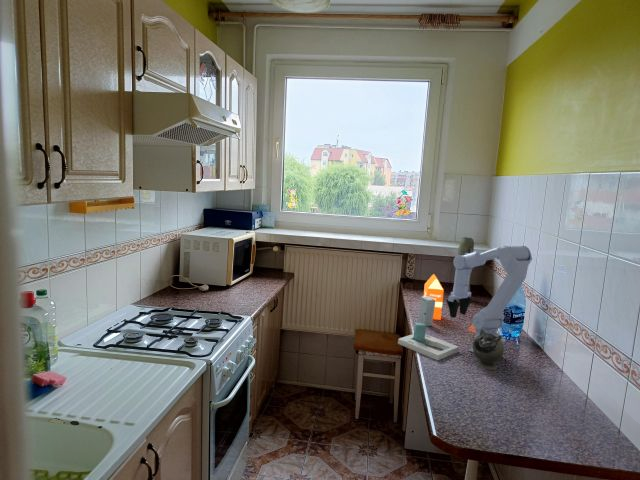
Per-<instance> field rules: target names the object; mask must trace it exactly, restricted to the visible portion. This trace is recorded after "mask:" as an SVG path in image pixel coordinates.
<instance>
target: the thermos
mask: <svg viewBox="0 0 640 480" xmlns="http://www.w3.org/2000/svg"><path fill="white" fill-rule="evenodd" d="M473 250H475V241H474V239H473V238H472V237H466V236H465V237H464V236H463V237H461V239H460V241H459V246H458V252H457V255H465V253H472V252H473ZM471 276H472V272H471V273H470V278H469V287H468V292H471V286H470V285H471ZM453 289H454V286H453V288H452V290H453ZM457 301H459V299H458V300H457Z"/></svg>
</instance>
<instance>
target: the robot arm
mask: <svg viewBox="0 0 640 480" xmlns="http://www.w3.org/2000/svg"><path fill="white" fill-rule="evenodd" d="M532 256H533V255H532V253H531V249H530V248H529V247H527V246H525V245H516V246H515V245H514V246H513V245H512V246H508V245H503V246H498V247H495V248H491V249H489V250H486V251H482V250H479V249H474V250H473V252H472V253H465V255H458V254H457V255H456V256H455V257H454V258H453V266H454V268H455V273H454V281H453V287H454V289H453V288H452V291H451V292H450V295H449V296H448V298H447V299H446V300H445V302H446V304H447V306H448V310H449V317H450V318H454V319H455V318H456V317H457V314H458V310H459V314H460V315H464V316H465V315H466V314H467V311H468V309H469V306H470V304H471V303H472V301H473V300H474V299H473V298H471V297H472V292H471V291H470V292H468V287H469V278H470V273H471V274H472V272H473V271H472V270H473V269H474V268H475V267H481V266H484V265H485V264H486V262H487V261H491V260H495V259H496V260H498V261H499V262H500V264H501V266H502V269H503V270H504V272H505V273H506V276H505V277H504V279H503V281H502V283H501V284H500V286H499V287H498V289H497V290H496V292H495V293H494V295H493V296H492V298H491V299H490V301H489V303H488V304H487V306H485V307H483V308H481V309H480V310H479V312H477V313H475V314H474V315H473V317H472V325H473V327H474V330H475V336H474V339H475V338H476V337H477V336H479V335H480V332H481V329H482V330H483V331H484V332H485V333H490V334H493V335H495V336H497V337H498V336H501V337H502V338H501V341H502V343H503V344H504V337H503V335H502V334H499V332H498V331H499V330H500V328H502V327H503V323H504V322H503V321H504V320H505V317H506V316H505V314H504V311H505V309H506V308H507V307H508V305H509V304H510V302H511V301H512V299H513V298H514V296H515V295H516V293H517V291H518V290H519V289H520V287H521V285H522V284H523V283H524V281H525V280H526V278H527V274H528V271H529V270H528V268H529V265H530V264H531V262H532V260H533V257H532ZM470 279H471V278H470ZM458 299H459V300H458ZM468 351H469V352H472V353H474V352H473V347H472V348H470V349H469V350H468Z"/></svg>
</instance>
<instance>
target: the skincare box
mask: <svg viewBox="0 0 640 480" xmlns="http://www.w3.org/2000/svg"><path fill="white" fill-rule="evenodd" d="M435 301H436V300H434V299H433V298H431V297H429V296H424V295H422V296H420V302H419V311H418V317H417V318H418V319H417V323H423V324H426V327H428V326H430V327H431V326H433V321H434V319H433V315H434V308H435Z"/></svg>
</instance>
